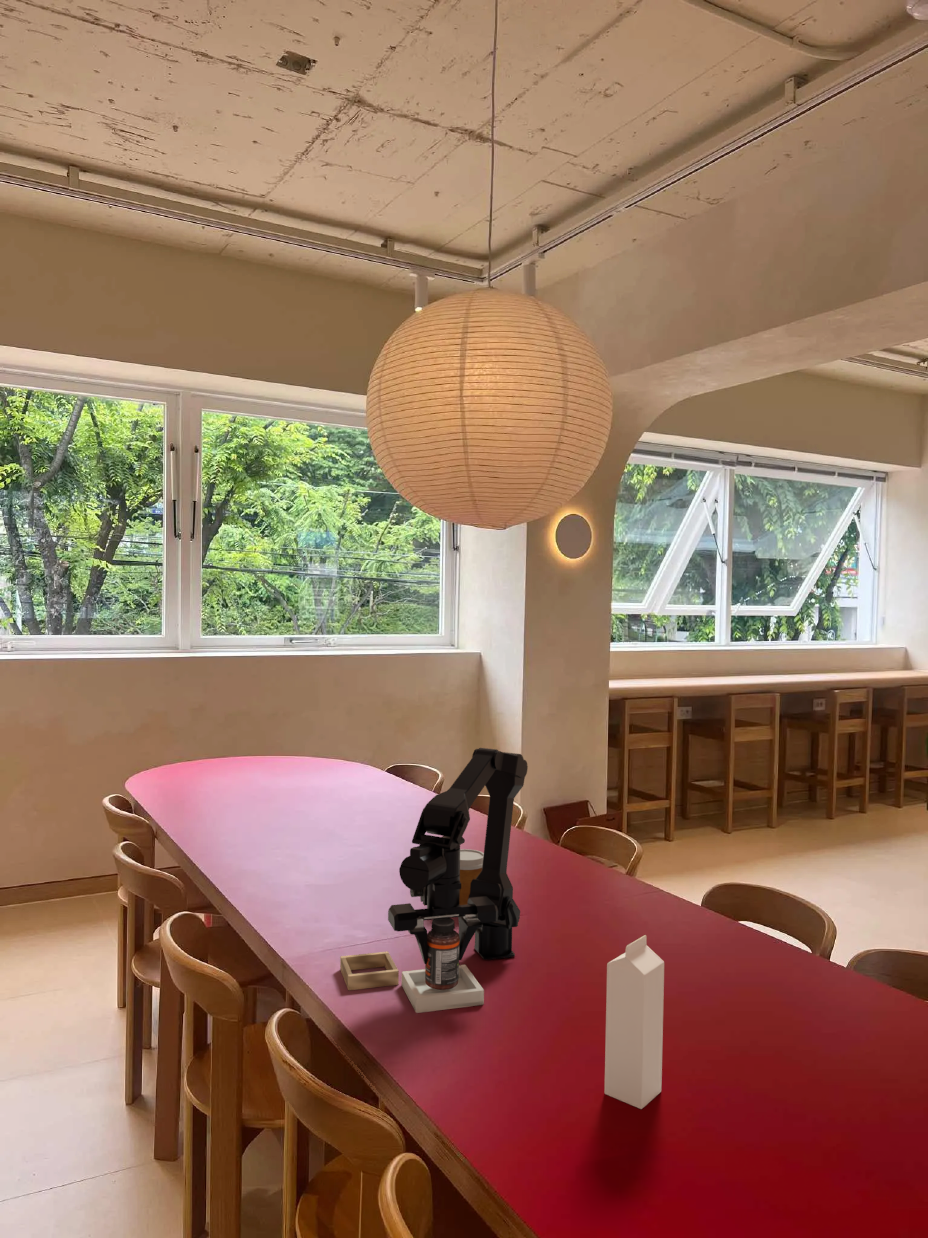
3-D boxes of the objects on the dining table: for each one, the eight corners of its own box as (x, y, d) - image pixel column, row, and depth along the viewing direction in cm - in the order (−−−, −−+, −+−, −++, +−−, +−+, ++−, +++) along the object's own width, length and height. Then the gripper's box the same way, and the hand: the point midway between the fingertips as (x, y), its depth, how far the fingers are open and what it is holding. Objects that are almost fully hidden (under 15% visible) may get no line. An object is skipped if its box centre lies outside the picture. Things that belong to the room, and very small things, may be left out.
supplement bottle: (421, 978, 159) (422, 915, 159) (453, 975, 161) (455, 913, 161) (429, 993, 154) (430, 928, 153) (462, 990, 155) (464, 925, 155)
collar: (387, 964, 170) (388, 951, 170) (398, 984, 161) (398, 971, 161) (340, 969, 167) (340, 956, 167) (348, 990, 158) (348, 976, 158)
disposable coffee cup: (482, 916, 196) (483, 862, 195) (440, 912, 198) (440, 859, 197) (489, 902, 205) (490, 850, 205) (449, 898, 207) (450, 847, 207)
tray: (465, 978, 164) (465, 964, 164) (483, 1004, 154) (484, 990, 154) (401, 985, 161) (401, 971, 161) (416, 1013, 150) (416, 998, 150)
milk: (661, 1092, 128) (666, 940, 127) (641, 1110, 123) (646, 952, 122) (624, 1076, 131) (628, 929, 131) (602, 1094, 127) (607, 940, 126)
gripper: (479, 856, 167) (478, 938, 168) (382, 864, 162) (381, 949, 162) (499, 874, 156) (498, 962, 157) (395, 883, 151) (394, 974, 151)
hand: (442, 961), depth 157 cm, fingers closed on supplement bottle, 6 cm apart
